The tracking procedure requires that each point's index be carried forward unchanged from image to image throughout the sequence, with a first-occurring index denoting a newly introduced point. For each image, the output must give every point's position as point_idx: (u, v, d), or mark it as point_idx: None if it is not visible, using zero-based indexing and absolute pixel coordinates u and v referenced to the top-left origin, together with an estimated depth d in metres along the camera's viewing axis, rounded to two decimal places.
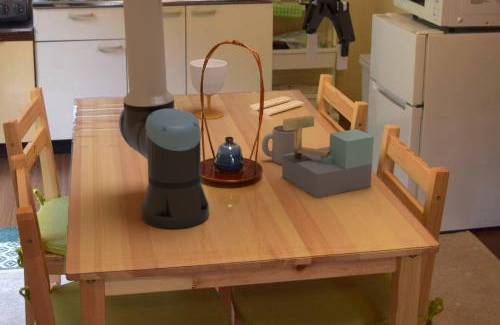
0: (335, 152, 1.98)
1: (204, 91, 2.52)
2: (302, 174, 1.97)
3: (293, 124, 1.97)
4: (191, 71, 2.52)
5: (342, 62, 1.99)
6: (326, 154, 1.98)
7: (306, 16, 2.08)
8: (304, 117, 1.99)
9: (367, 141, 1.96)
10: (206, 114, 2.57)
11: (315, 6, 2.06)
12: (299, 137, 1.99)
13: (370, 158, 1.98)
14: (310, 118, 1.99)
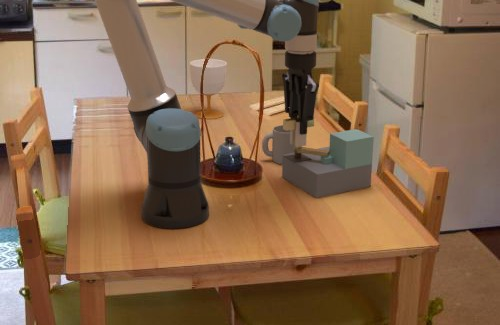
0: (335, 152, 1.98)
1: (204, 91, 2.52)
2: (302, 174, 1.97)
3: (293, 124, 1.97)
4: (191, 71, 2.52)
5: (301, 139, 1.99)
6: (326, 154, 1.98)
7: (285, 97, 2.00)
8: None
9: (367, 141, 1.96)
10: (206, 114, 2.57)
11: None
12: None
13: (370, 158, 1.98)
14: None
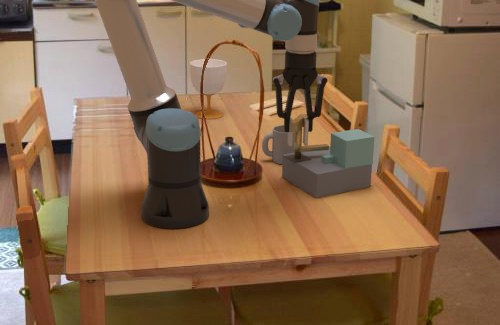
0: (335, 151, 1.98)
1: (204, 91, 2.52)
2: (302, 174, 1.97)
3: (299, 125, 1.97)
4: (191, 71, 2.52)
5: None
6: (328, 147, 2.02)
7: (279, 101, 1.95)
8: (301, 116, 2.00)
9: (368, 141, 1.96)
10: (206, 114, 2.57)
11: None
12: (301, 137, 2.00)
13: (371, 158, 1.98)
14: (305, 116, 2.01)
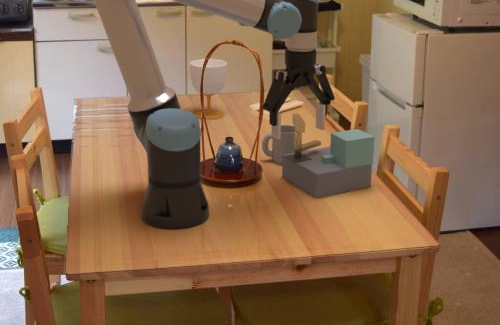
0: (335, 151, 1.98)
1: (204, 91, 2.52)
2: (302, 174, 1.97)
3: None
4: (191, 71, 2.52)
5: None
6: (320, 143, 2.06)
7: (275, 96, 1.91)
8: (297, 116, 2.00)
9: (368, 141, 1.96)
10: (206, 114, 2.57)
11: None
12: (301, 136, 2.00)
13: (371, 158, 1.98)
14: (299, 115, 2.01)
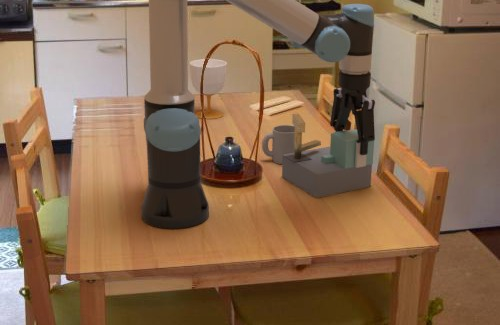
0: (335, 151, 1.98)
1: (204, 91, 2.52)
2: (302, 174, 1.97)
3: None
4: (191, 71, 2.52)
5: (361, 160, 1.95)
6: (320, 143, 2.06)
7: (333, 111, 2.01)
8: (297, 116, 2.00)
9: None
10: (206, 114, 2.57)
11: (340, 99, 1.99)
12: (301, 136, 2.00)
13: (371, 158, 1.98)
14: (299, 115, 2.01)
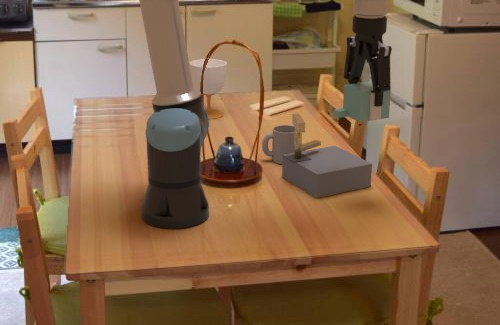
0: (349, 104, 1.85)
1: (204, 91, 2.52)
2: (302, 174, 1.97)
3: None
4: (191, 71, 2.52)
5: (375, 112, 1.82)
6: (320, 143, 2.06)
7: (346, 62, 1.87)
8: (297, 116, 2.00)
9: (384, 92, 1.82)
10: None
11: (354, 48, 1.86)
12: (301, 136, 2.00)
13: (387, 111, 1.84)
14: (299, 115, 2.01)
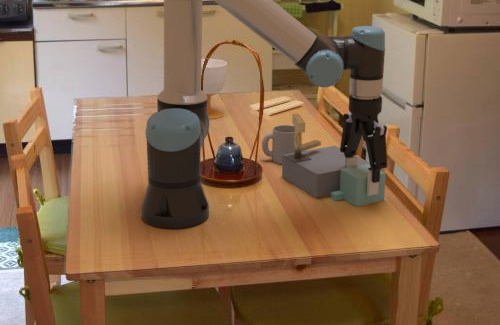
0: (346, 188, 1.91)
1: (204, 91, 2.52)
2: (302, 174, 1.97)
3: None
4: None
5: (373, 187, 1.88)
6: (320, 143, 2.06)
7: (343, 137, 1.93)
8: (297, 116, 2.00)
9: None
10: None
11: (350, 124, 1.92)
12: (301, 136, 2.00)
13: (382, 195, 1.91)
14: (299, 115, 2.01)
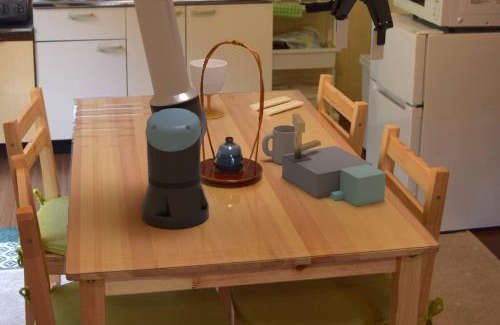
0: (346, 188, 1.91)
1: (204, 91, 2.52)
2: (302, 174, 1.97)
3: None
4: (191, 71, 2.52)
5: (378, 51, 1.76)
6: (320, 143, 2.06)
7: (336, 0, 1.85)
8: (297, 116, 2.00)
9: (379, 177, 1.89)
10: (206, 114, 2.57)
11: None
12: (301, 136, 2.00)
13: (382, 195, 1.91)
14: (299, 115, 2.01)
